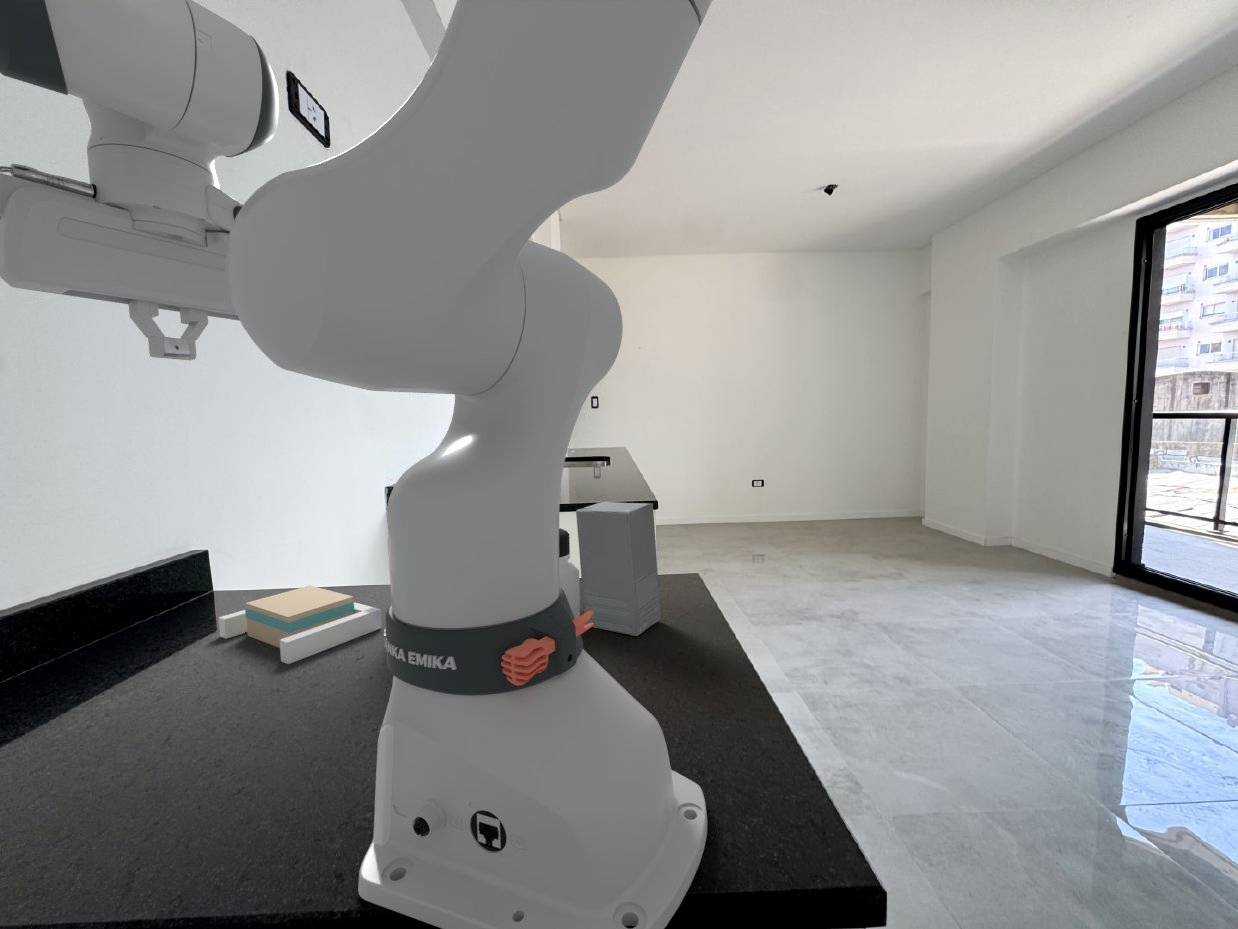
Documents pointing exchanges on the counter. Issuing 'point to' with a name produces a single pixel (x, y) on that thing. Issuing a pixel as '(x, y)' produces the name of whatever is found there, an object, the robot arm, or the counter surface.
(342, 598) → the carton
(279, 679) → the counter surface
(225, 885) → the counter surface
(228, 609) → the counter surface
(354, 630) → the frame
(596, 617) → the skincare box
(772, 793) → the counter surface
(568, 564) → the medicine bottle
